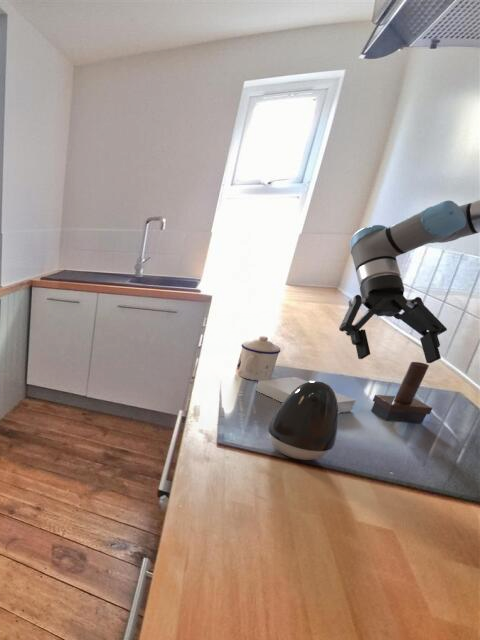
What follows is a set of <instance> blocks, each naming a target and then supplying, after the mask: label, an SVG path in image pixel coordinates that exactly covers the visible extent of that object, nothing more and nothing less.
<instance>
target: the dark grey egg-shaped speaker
mask: <svg viewBox="0 0 480 640" xmlns="http://www.w3.org/2000/svg"><path fill="white" fill-rule="evenodd" d="M334 392H335V391H334V389H333V388H332V387H331V386H330V385H329V384H327V383H326V382H323V381H319V380H309V381H308V382H305V383H303V384H301V385H300V386H298V387H297V388H296V389H295V390H293V391H292V392H291V393H290V394H289V396H288V397H287V398H286V399H285V401H284V402H283V403H280V406H279V407H278V408H277V410H276V412H275V414H273V417H272V419H271V420H270V422H269V425H268V429H267V432H268V436H269V441H270V443H271V445H272V447H273V448H274V449H275V450H276V451H277V452H279V453H280V454H282V455H284V456H286V457H288V458H291V459H295V460H300V461H313V460H317V459H320V458H322V457H324V456H325V455H327V453H328V452H329V451H330V450H332V449H333V448H334V447H335V443H336V441H337V436H338V428H339V413H338V402H337V398H336V395H335V393H334Z"/></svg>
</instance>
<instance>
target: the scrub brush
mask: <svg viewBox="0 0 480 640" xmlns="http://www.w3.org/2000/svg"><path fill="white" fill-rule="evenodd" d="M429 367H430V365H429V364H428V363H424V362H419V361H411V362H410V363H409V365H408V368H407V370H406V372H405V374H404V377H403V379H402V381H401V383H400V386H399V388H398V391H397V392H396V395H386V394H385V395H383V394H374V396H373V399H372V402H373V405H372V408H371V410H370V411H371V412H372V413H374V414H375V415H376V416H378V417H379V418H381V419H383V420H384V421H385V422H399V423H410V424H411V423H412V424H423V422H424V420H425V418H426V416H427V415H431V412H432V410H433V407H432V406H430V405H428V404H426V403H424V402H422V401H421V400H419V399H417V398H415V397H416V395H417V392H418V390H419V388H420V387H421V385H422V382H423V379H424V378H425V375H426V373H427V371H428V369H429Z"/></svg>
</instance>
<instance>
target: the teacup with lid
mask: <svg viewBox="0 0 480 640" xmlns="http://www.w3.org/2000/svg"><path fill="white" fill-rule="evenodd" d="M280 353H281V347H280V346H279V345H277V344H275V343H273V342H272V341H270V340H269V338H268V337H267V336H265V335H261V336H259V337H258V338H255V339H252V340H247V341H246V340H245V341H244V342H242V344H241V350H240V354H239V357H238V361H237V365H236V369H235V374H236V375H237V376H238V377H239V378H243V379H245V378H246V380H249V379H250V381H254V380H257V381H256V382H259V381H262V380H269V379H270V380H271V379H272V377H273V373H274V369H275V366H276V363H277V361H278V357H279V354H280Z"/></svg>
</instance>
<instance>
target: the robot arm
mask: <svg viewBox="0 0 480 640" xmlns="http://www.w3.org/2000/svg"><path fill="white" fill-rule="evenodd" d="M479 233H480V199H478V200H475V201H472V202H468V203H464V204H462V205H458V204H457V203H456V202H454V201H453V200H443V201H441V202H439V203H437V204H435V205H433V206H429V207H426V208H425V209H424V210H421V211H420V212H417V213H415V214H414V215H411V216H409V217H407V218H405V219H403V220H401V221H398V222H396V223H395V224H393V225H390V226H389V227H387V226H386V225H382V224H374V225H371V226H370V227H363V228H361V229H359V230H357V231H356V232H354V234H352V236H351V238H350V240H349V244H350V245H349V246H350V255H351V258H352V261H353V265H354V270H355V274H356V278H357V282H358V286H359V292H360V294H355V296H353V297H352V298H351V299H349V301H348V309H347V311H346V313H345V315H344V317H343V319H342V321H341V323H340V326H339V327H338V331H340V332H345V336H348V337H349V336H350V341H351V345H353V346H355V349H356V354H357V358H358V360H363V359H365V358H366V357H369V356H370V355H371V349H370V346H369V341H368V337H367V332H366V329H364V328H363V327H364V326H365V325H366V323H368V321H370V319H371V318H372V317H374V315H375V316H376V317H389V318H390V317H392V318H395V319H396V320H400V321H402V322H403V323H405V324H406V325H407V326H408V327H410V328H412V330H414V331H415V332H417V333H418V334H420V335H421V336H422V337H420V338H419V340H420V344H421V347H422V351H423V355H424V359H425V362H426V364H432V363H434V362H436V361H438V360H440V359H442V356H441V353H440V349H439V347H441V343H440V340H439V335H441V334H443V333H445V332H446V331H448V328H447V327H446V326H445V325H444V324H443V322H441V321H440V320H439V319H438V318H437V317H436V316H435V315H434V313H432V311H431V310H430V309H429V308H428V307H427V306H426V305H425V303H424V301H423V299H422V298H421V297H420V296H416V297H414V298H412V299H407V298H406V297H405V296H404V292H405V287H404V282H403V278H402V277H401V276H402V274H401V271H400V267H399V264H398V260H397V257H399V256H401V255H404V254H406V253H408V252H411V251H413V250H416V249H418V248H420V247H423V246H425V245H429V244H437V243H439V244H440V243H441V244H443V243H448V242H452V241H453V242H454V241H457V240H459V239H461V238H464V237H468V236H472V235H475V234H476V235H477V234H479ZM362 305H363V306H364V307H365V308H366V309H367V310H366V311H365V312H364V313H363V315H362V316H360V317H359V319H358V320H357V321H355V319H356V317H357V315H358V313H359V311H360V309H361V306H362ZM402 311H403V312H402ZM401 312H402V313H401ZM354 321H355V323H354ZM353 323H354V324H353ZM362 328H363V329H362Z"/></svg>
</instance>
